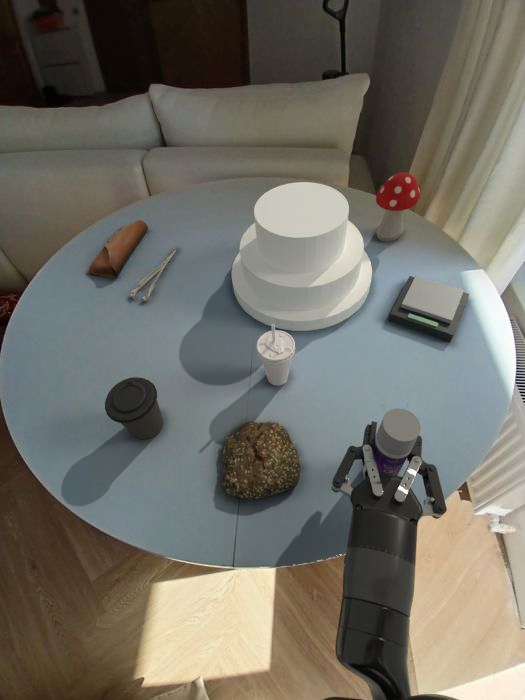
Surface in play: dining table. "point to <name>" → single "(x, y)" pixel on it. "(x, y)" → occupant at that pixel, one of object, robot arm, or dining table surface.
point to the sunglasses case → (118, 250)
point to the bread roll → (259, 461)
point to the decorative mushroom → (396, 204)
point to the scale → (429, 307)
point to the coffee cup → (135, 407)
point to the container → (395, 440)
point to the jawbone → (149, 276)
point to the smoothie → (276, 354)
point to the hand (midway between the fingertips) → (393, 428)
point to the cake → (301, 259)
